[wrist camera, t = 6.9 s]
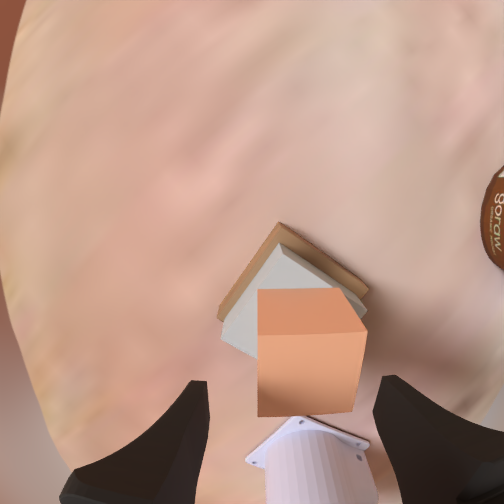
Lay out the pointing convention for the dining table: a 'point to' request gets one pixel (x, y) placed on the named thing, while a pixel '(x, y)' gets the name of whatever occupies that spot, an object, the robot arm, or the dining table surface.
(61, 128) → the dining table surface
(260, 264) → the bottom slab
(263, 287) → the top slab
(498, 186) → the food container
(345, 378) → the peach foam cube
